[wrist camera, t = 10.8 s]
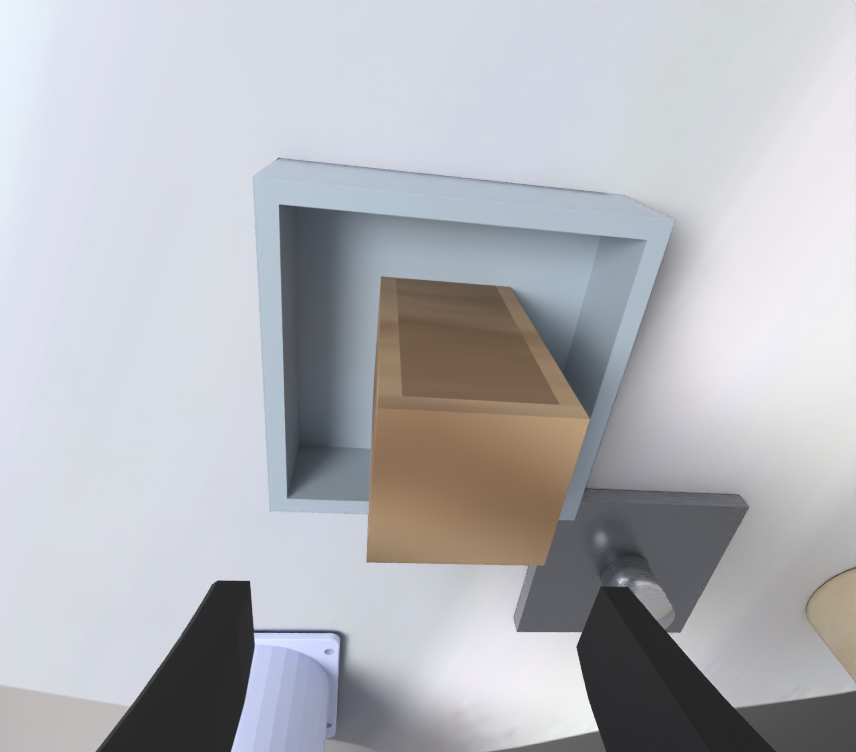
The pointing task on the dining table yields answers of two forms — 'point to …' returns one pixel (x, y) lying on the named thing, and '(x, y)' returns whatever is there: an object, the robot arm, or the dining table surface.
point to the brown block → (466, 429)
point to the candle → (837, 617)
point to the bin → (438, 261)
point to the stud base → (630, 556)
